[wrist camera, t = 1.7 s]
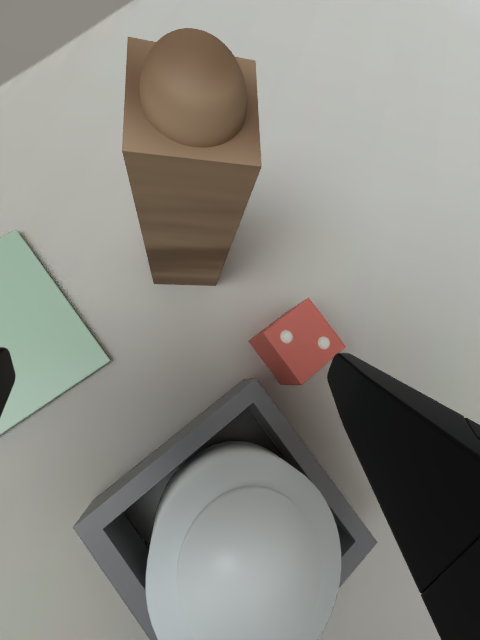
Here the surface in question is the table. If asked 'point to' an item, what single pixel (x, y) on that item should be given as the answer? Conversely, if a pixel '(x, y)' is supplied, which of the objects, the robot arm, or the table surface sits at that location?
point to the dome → (241, 550)
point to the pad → (39, 334)
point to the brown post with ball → (189, 150)
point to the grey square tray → (107, 509)
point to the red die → (297, 344)
